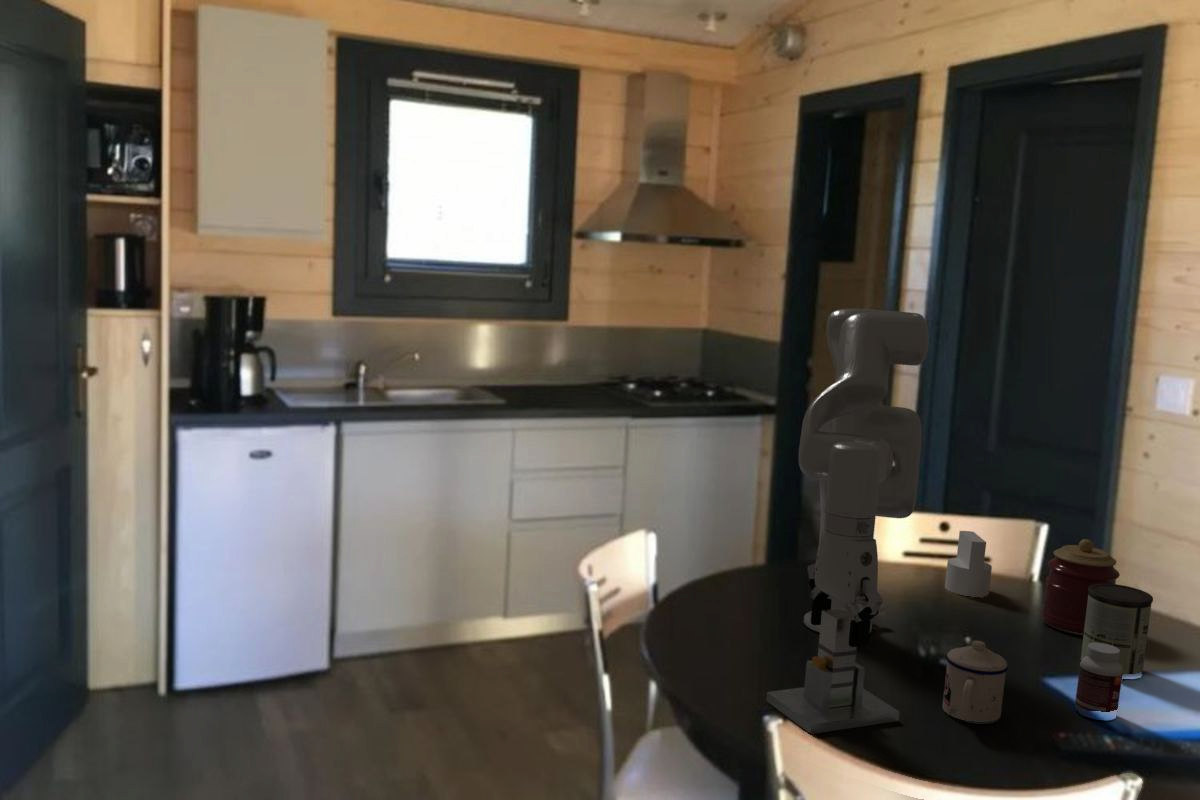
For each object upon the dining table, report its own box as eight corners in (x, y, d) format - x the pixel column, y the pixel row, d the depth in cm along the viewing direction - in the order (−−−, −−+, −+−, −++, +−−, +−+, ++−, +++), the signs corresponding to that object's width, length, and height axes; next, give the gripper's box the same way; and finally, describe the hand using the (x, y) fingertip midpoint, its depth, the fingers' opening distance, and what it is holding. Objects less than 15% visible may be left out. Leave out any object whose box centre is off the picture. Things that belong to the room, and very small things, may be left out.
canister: (1093, 643, 207) (1105, 552, 205) (1028, 622, 217) (1038, 535, 214) (1123, 630, 216) (1135, 542, 213) (1059, 611, 226) (1070, 527, 223)
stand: (850, 689, 178) (855, 638, 177) (898, 720, 167) (904, 666, 166) (766, 701, 172) (770, 647, 170) (810, 734, 161) (815, 677, 159)
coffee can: (1076, 654, 201) (1086, 579, 199) (1138, 664, 198) (1148, 588, 196) (1081, 673, 191) (1091, 595, 189) (1146, 684, 188) (1157, 605, 186)
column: (835, 694, 172) (843, 607, 170) (851, 705, 168) (860, 616, 166) (813, 697, 170) (821, 610, 168) (829, 708, 166) (837, 619, 164)
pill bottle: (1118, 726, 170) (1127, 658, 169) (1074, 717, 172) (1083, 650, 171) (1115, 711, 176) (1124, 645, 174) (1073, 703, 178) (1081, 637, 177)
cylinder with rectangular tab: (994, 598, 231) (1001, 543, 230) (951, 596, 231) (958, 540, 230) (980, 585, 240) (986, 532, 238) (939, 583, 240) (945, 529, 238)
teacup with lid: (946, 697, 178) (954, 627, 176) (1005, 710, 173) (1014, 640, 172) (931, 723, 167) (939, 650, 165) (994, 739, 163) (1003, 663, 161)
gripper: (906, 538, 159) (895, 652, 161) (835, 510, 174) (825, 614, 177) (863, 541, 156) (852, 657, 158) (795, 512, 171) (786, 618, 174)
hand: (838, 634), depth 167 cm, fingers open, 9 cm apart
